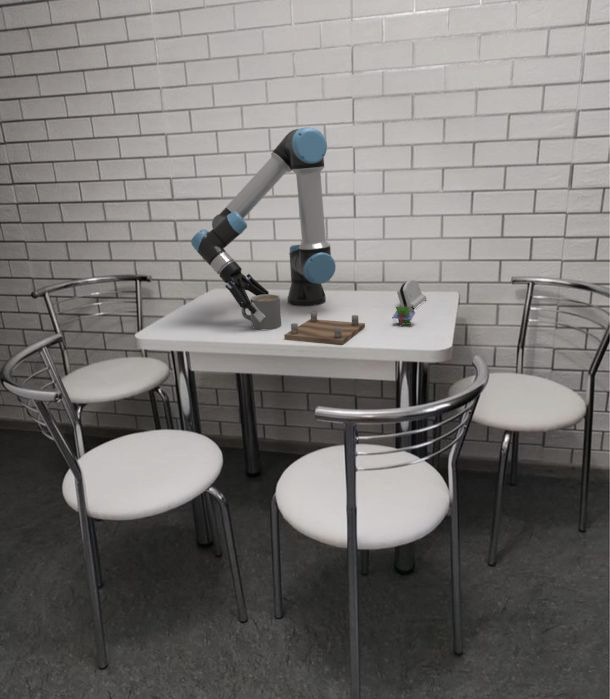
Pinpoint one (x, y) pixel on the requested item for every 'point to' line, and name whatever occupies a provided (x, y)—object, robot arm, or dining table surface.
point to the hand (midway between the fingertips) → (269, 315)
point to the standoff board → (325, 330)
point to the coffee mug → (265, 311)
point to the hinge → (410, 294)
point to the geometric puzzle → (404, 314)
